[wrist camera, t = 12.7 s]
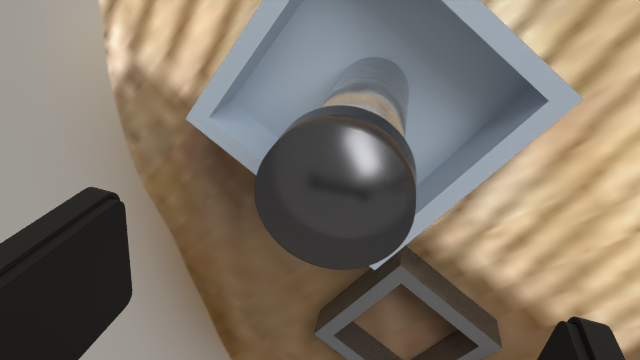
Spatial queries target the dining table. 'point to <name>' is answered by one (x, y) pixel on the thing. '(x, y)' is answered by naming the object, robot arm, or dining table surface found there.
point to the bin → (422, 75)
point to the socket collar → (426, 283)
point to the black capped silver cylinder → (344, 173)
